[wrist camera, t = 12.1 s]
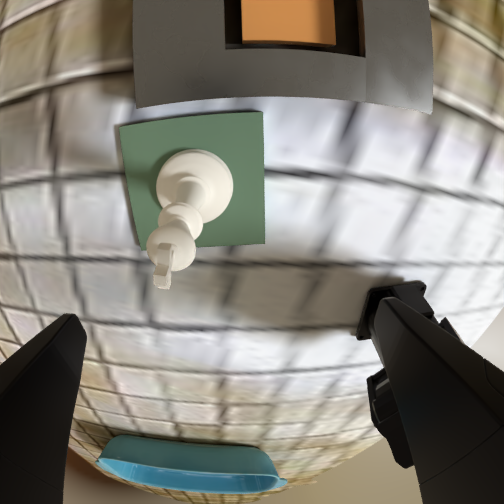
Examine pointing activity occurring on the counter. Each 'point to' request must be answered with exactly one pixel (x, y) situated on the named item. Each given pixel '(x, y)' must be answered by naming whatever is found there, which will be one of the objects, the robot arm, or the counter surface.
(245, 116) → the mat
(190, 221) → the chess piece
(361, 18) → the breaker guard
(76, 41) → the counter surface
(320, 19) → the button
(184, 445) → the casserole dish
